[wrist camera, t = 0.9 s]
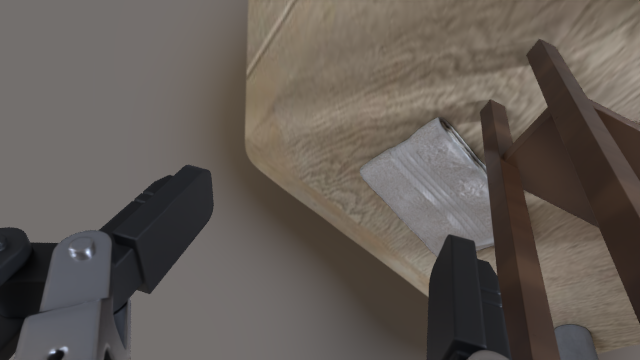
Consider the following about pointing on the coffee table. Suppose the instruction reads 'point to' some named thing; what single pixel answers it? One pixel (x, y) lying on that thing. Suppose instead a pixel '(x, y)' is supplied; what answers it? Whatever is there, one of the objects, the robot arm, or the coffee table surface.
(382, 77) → the coffee table surface
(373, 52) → the coffee table surface
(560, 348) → the grey black cylinder
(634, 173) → the stand
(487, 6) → the coffee table surface
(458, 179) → the washcloth
